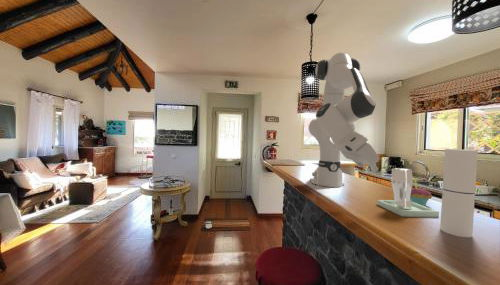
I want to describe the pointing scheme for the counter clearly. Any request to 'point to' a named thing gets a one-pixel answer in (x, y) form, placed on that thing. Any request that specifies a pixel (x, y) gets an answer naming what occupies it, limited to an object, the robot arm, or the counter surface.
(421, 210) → the tray
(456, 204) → the cylindrical container
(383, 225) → the counter surface
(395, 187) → the white upright block
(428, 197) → the cupcake
